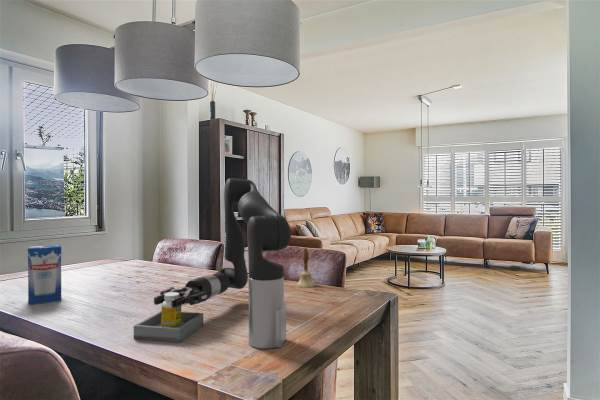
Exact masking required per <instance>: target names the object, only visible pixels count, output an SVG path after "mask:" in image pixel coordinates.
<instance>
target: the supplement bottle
mask: <svg viewBox="0 0 600 400" xmlns="http://www.w3.org/2000/svg"><path fill="white" fill-rule="evenodd" d="M178 297H179V293H177V292H170V293H166V294H165V295H164V299H165V301H164V302H163V303H161V311H162V315H161V327H171V328H179V327H181V312H182V305H180V306H178V307H175V308H173V307H172V300H173V299H175V298H178Z"/></svg>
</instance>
